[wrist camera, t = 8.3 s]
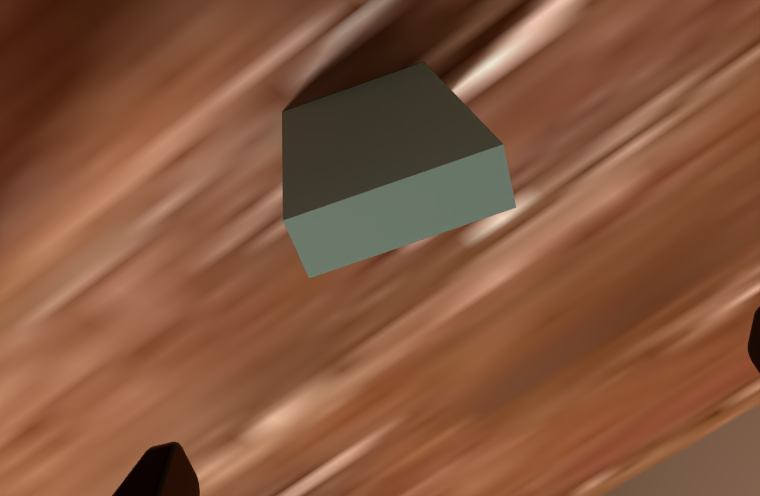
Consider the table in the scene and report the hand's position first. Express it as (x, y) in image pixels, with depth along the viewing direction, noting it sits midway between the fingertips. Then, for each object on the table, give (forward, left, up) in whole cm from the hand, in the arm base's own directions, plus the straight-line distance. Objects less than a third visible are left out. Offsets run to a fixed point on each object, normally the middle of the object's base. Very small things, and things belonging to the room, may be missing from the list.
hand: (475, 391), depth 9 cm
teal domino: (+1, 0, -13) cm, 13 cm away
